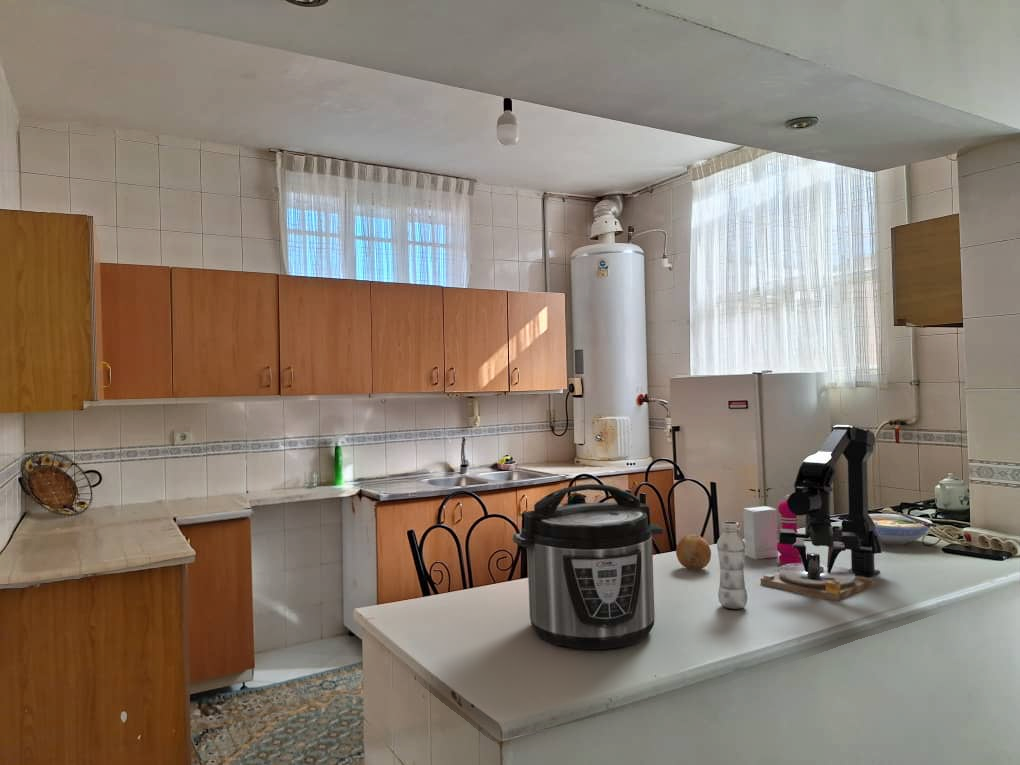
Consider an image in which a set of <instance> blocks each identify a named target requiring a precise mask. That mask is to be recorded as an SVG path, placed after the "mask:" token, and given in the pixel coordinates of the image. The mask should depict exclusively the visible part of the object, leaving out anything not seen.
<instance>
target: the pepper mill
mask: <svg viewBox="0 0 1020 765" xmlns="http://www.w3.org/2000/svg"><path fill="white" fill-rule="evenodd" d="M790 495H791V494H787V495H785V499H784V500H782V501H780V503H779V504H778V506H777V511H778V514H780V516H779V518H780V522H781V527H782V528H781V529H793V530H794V531H795V533H798V528H797V527H798V523H799V517H798V515H795V514H794V513H792V512H791V511H790V509H789V508H788V504H787V501H788V498H789V496H790ZM777 550H778V554H780V555H778V563H779V564H781V563H782V564H781V565H784V564H790V563H802V560H801V557H800V554H799V552H798V550H797V548H794V547H793V546H792V545H791V544H780V543H779V542H778V543H777Z"/></svg>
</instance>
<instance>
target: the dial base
mask: <svg viewBox="0 0 1020 765" xmlns="http://www.w3.org/2000/svg"><path fill="white" fill-rule="evenodd" d="M760 585H762V586H765V587H766V586H767V587H772V588H775V589H780V590H781V589H782V590H785V591H789V592H794V593H799V594H803V595H808V596H811V597H816V598H820V599H825V600H830V601H834V602H838V601H840V600H842V599H844V598H847V597H849V596H852V595H853V594H855V593H858V592H861V591H863V590H865V589H868V588H870V587H872V586H874V579H873V578H869V577H864V576H863V577H862V576H860V575H859V576H858V575H855V583H854V584H853V585H850V586H847V587H840V582H837V581H832V580H829V581H827V582H826V588H818V587H809V586H802V585H798V584H793V583H790V582H787V581H785V580H783V579H782V578H780V576H779V571H778V572H775V573H772V574H770V573H767V574H766V573H765V574H764V575H763V577H761V578H760Z"/></svg>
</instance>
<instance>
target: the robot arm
mask: <svg viewBox="0 0 1020 765" xmlns="http://www.w3.org/2000/svg"><path fill="white" fill-rule="evenodd" d="M875 443H876V436H875V434H874V433H873V432H871V429H869V428H867V429H866V428H859V427H856V426H853V425H850V424H849V425H848V424H845V425H844V424H836V425H833V426H832V429H831V432H830V434H829V435H828V437H827V438H826V440H825V441H824V443H823V444H822V446H821V447H820V448H819V450H818V451H817V453H814V454H812V455H809V456H807V458H805V459H804V460H803V461H802V463H801V465H800V467H799V469H798V472H797V476H796V479H795V481H794V485H793V487H794V492H793V493H791V494H789V495H790V496H789V498H788V501H787V504H788V508H789V509H790V511H791V512H792V513H794V514H795V515H797V517H798V516H799V517H802V516H805V517H804V520H805V521H804V522H805V524H804V526H805V531H804V533H799V532H797V533H795V531H794V530H793V529H782V528H778V529H777V540H778V542H779V543H780V544H791V545H792V546H793V547H794V548H797V550H798V552H799V554H800V557H801V560H802V563H803V566H804V569H805V572H807V569H808V566H807V546H806V545H805V542H811V545H812V546H815V547H822V546H823V547H828V550H827V551H828V552H827V563H826V564H827V572H828V574H830V572H831V570H832V567H833V565H834V564H835V562H836V559H837V558H838V556H839V554H840V553H841V552H845V551H846V550H850V557H851V558H850V562H851V564H850V565H851V566H850V567H851V568H849V570H851V571H852V572H854V574H855V575H859V576H860V575H861V576H865V577H872V576H875V575H877V574H879V573H881V570H879V569H875V555H877V554H881V553H882V551H883V543H882V542H881V540H880V538H879V536H878V534H877V532H876V530H875V523H874V522H873V520H872V519H871V517H870V516H869V514H870V513H869V496H868V494H869V492H868V491H869V490H868V488H869V487H868V460H869V459H870V458H871V456H872V454H873V452H874V448H875V447H874V446H875ZM842 455H843V456H844V458H845V460H846V461H847V484H848V485H847V486H848V487H847V490H848V491H847V492H848V493H847V495H848V498H847V499H848V513H847V515H846V516H845V518H844V519H843V520H842V521H841V525H833V526H832V523H831V492H833V489H834V488H833V487H832V484H833V482H834V480H835V477H836V475H837V470H836V468H835V466H836V464H837V462H838V460H840V458H841V456H842Z"/></svg>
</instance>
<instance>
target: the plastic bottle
mask: <svg viewBox="0 0 1020 765" xmlns="http://www.w3.org/2000/svg"><path fill="white" fill-rule="evenodd" d="M739 526H740V524H739V522H737V521H729V520H726V521H723V522H722V528H721V530H722V533H721V535H720V537H719V538H718V539H717V541H716V542H717V543H716V548H717V554H718V561H719V572H720V573H719V574H720V575H719V586H718V594H717V597H718V602H719V603H720V605H721V606H722V607H724V608H728V609H734V610H736V609H737V610H738V609H744V608H745V607H746V606H747V603H748V592H747V589H746V581H745V572H744V571H745V570H744V568H745V556H746V555H745V540H744V539H743V538H742V536H741V535H740V534H739V532H740V527H739Z"/></svg>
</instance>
